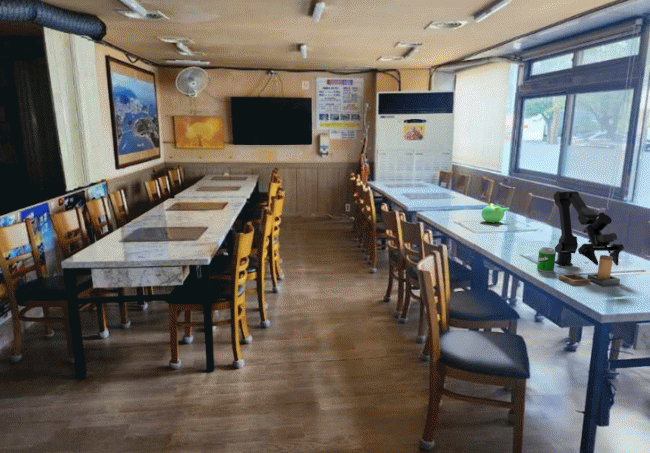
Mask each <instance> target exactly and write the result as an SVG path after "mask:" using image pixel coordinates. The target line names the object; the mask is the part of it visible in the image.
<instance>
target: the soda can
mask: <svg viewBox="0 0 650 453" xmlns="http://www.w3.org/2000/svg"><path fill="white" fill-rule="evenodd" d="M556 254H557V252H556V251H555V248H552V247H541V248H540V249H538V257H537V264H536V265H537V267H536V270H537V271H539V272H542V273H553V272H554V271H555V261H556Z"/></svg>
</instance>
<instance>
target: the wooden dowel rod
mask: <svg viewBox="0 0 650 453" xmlns="http://www.w3.org/2000/svg"><path fill="white" fill-rule="evenodd" d="M612 266H613V257H611V256H610V255H607V254H605V255H604V254H602V255H600V256H599V260H598V268H597V273H596V274H597V277H598V278H601V279H603V280H604V279H610V276H611V272H612Z"/></svg>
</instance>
